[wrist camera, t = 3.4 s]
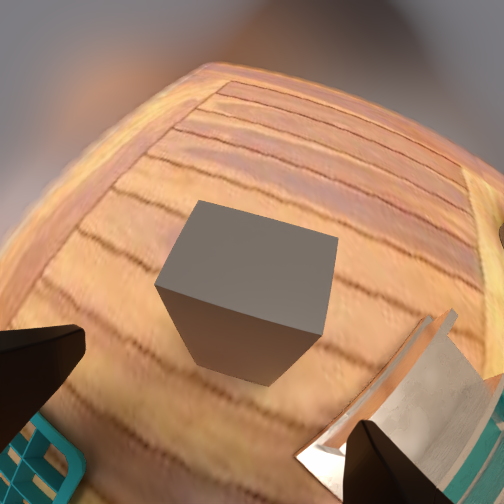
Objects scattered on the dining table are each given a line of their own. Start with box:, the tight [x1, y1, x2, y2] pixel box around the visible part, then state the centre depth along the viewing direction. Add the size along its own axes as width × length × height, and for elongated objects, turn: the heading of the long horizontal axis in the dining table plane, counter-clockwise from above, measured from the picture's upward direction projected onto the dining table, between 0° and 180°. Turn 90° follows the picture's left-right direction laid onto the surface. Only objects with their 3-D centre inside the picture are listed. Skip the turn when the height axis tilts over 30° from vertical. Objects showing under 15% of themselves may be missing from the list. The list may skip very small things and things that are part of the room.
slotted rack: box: [293, 308, 504, 504], centre depth 11 cm, size 15×23×5 cm, turn 39°
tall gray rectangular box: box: [154, 200, 338, 387], centre depth 14 cm, size 4×5×12 cm
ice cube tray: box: [0, 412, 86, 504], centre depth 8 cm, size 12×20×3 cm, turn 154°
